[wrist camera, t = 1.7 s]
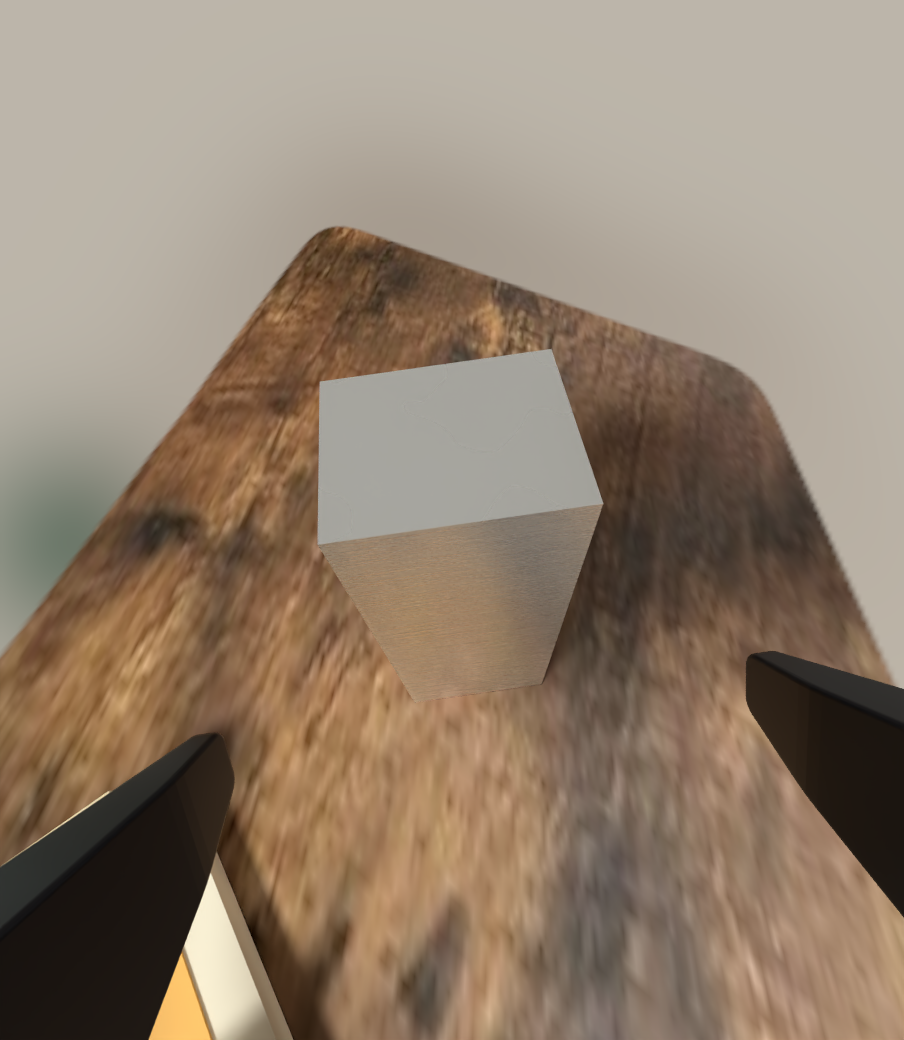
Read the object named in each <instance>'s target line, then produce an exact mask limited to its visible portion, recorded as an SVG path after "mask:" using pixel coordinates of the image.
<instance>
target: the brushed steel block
mask: <svg viewBox="0 0 904 1040" xmlns="http://www.w3.org/2000/svg"><path fill="white" fill-rule="evenodd" d="M602 506H603V501H602V498H601V495H600V492H599V489H598V486H597V483H596V480H595V477H594V474H593V471H592V468H591V465H590V462H589V460H588V457H587V454H586V451H585V448H584V445H583V442H582V439H581V436H580V433H579V430H578V427H577V424H576V421H575V418H574V415H573V412H572V409H571V406H570V403H569V400H568V397H567V394H566V392H565V389H564V386H563V383H562V380H561V377H560V374H559V371H558V368H557V365H556V362H555V359H554V356H553V353H552V350H551V349H549V350H542V351H535V352H527V353H520V354H513V355H506V356H499V357H492V358H485V359H478V360H471V361H464V362H457V363H450V364H443V365H435V366H428V367H421V368H414V369H407V370H400V371H393V372H386V373H379V374H372V375H365V376H358V377H351V378H343V379H336V380H329V381H322V382H320V410H319V486H318V546H319V548H320V549H321V551H322V552H323V554H324V556H325V557H326V559H327V561H328V562H329V564H330V565H331V567H332V569H333V570H334V572H335V574H336V575H337V577H338V578H339V580H340V582H341V583H342V585H343V587H344V588H345V590H346V591H347V593H348V595H349V596H350V598H351V600H352V601H353V603H354V604H355V606H356V608H357V609H358V611H359V613H360V614H361V616H362V617H363V619H364V621H365V622H366V624H367V626H368V627H369V629H370V630H371V632H372V634H373V635H374V637H375V639H376V640H377V642H378V643H379V645H380V647H381V648H382V650H383V652H384V653H385V655H386V656H387V658H388V660H389V661H390V663H391V665H392V666H393V668H394V669H395V671H396V673H397V674H398V676H399V678H400V679H401V681H402V682H403V684H404V686H405V687H406V689H407V691H408V692H409V694H410V695H411V697H412V699H413V700H414V702H415V703H417V702H424V701H431V700H437V699H444V698H451V697H458V696H465V695H472V694H478V693H485V692H492V691H499V690H506V689H512V688H519V687H526V686H533V685H540V684H542V682H543V679H544V676H545V673H546V670H547V667H548V664H549V661H550V658H551V655H552V652H553V649H554V647H555V644H556V641H557V638H558V635H559V632H560V629H561V626H562V623H563V620H564V617H565V614H566V611H567V609H568V606H569V603H570V600H571V597H572V594H573V591H574V588H575V585H576V582H577V579H578V576H579V573H580V571H581V568H582V565H583V562H584V559H585V556H586V553H587V550H588V547H589V544H590V541H591V538H592V535H593V533H594V530H595V527H596V524H597V521H598V518H599V515H600V512H601V509H602Z"/></svg>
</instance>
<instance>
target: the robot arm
mask: <svg viewBox="0 0 904 1040" xmlns="http://www.w3.org/2000/svg"><path fill="white" fill-rule="evenodd" d="M746 701H747V705H748V707H749V710H750V712H751V713H752V715H753V716H754V718H755V719H756V721H757V722H758V724H759V725H760V727H761V729H762V730H763V732H764V733H765V735H766V736H767V738H768V739H769V741H770V742H771V744H772V745H773V747H774V748H775V750H776V751H777V753H778V754H779V756H780V757H781V759H782V760H783V762H784V763H785V765H786V766H787V768H788V769H789V771H790V772H791V774H792V775H793V777H794V779H795V780H796V781H797V783H798V784H799V786H800V787H801V789H802V790H803V791H804V793H805V794H806V796H807V797H808V798H809V799H810V801H811V802H812V803H813V805H814V806H815V807H816V809H817V810H818V811H819V812H820V814H821V815H822V816H823V817H824V819H825V820H826V821H827V822H828V824H829V825H830V826H831V827H832V829H833V830H834V831H835V832H836V833H837V835H838V836H839V837H840V838H841V840H842V841H843V842H844V843H845V845H846V846H847V847H848V848H849V850H850V851H851V852H852V853H853V855H854V856H855V857H856V858H857V860H858V861H859V862H860V863H861V865H862V866H863V867H864V868H865V870H866V871H867V872H868V873H869V875H870V876H871V877H872V878H873V880H874V881H875V882H876V883H877V885H878V886H879V887H880V888H881V890H882V891H883V892H884V893H885V895H886V896H887V897H888V898H889V900H890V901H891V902H892V903H893V905H894V906H895V907H896V908H897V910H898V911H899V912H900V913H901V915H902V916H903V917H904V689H902V688H898V687H895V686H891V685H888V684H885V683H881V682H878V681H874V680H871V679H868V678H864V677H861V676H858V675H854V674H851V673H847V672H844V671H841V670H837V669H834V668H830V667H827V666H824V665H820V664H817V663H813V662H810V661H807V660H803V659H800V658H797V657H793V656H790V655H786V654H783V653H780V652H776V651H768V652H761V653H754V654H751V655H750V656H749V657H748V658H747V661H746ZM234 780H235V778H234V771H233V767H232V764H231V760H230V757H229V753H228V750H227V746H226V743H225V740H224V737H223V736H222V734H220V733H218V732H213V733H206V734H200V735H195V736H193V737H191V738H190V739H188V740H187V741H186V742H184V743H183V744H181V745H180V746H178V747H177V748H175V749H174V750H172V751H171V752H169V753H168V754H166V755H165V756H163V757H162V758H160V759H159V760H157V761H156V762H154V763H153V764H152V765H150V766H149V767H147V768H146V769H144V770H143V771H141V772H140V773H138V774H137V775H135V776H134V777H132V778H131V779H129V780H128V781H126V782H125V783H123V784H122V785H120V786H119V787H118V788H116V789H115V790H113V791H112V792H110V793H109V794H107V795H106V796H104V797H103V798H101V799H100V800H98V801H97V802H95V803H94V804H92V805H91V806H89V807H88V808H86V809H85V810H84V811H82V812H81V813H79V814H78V815H76V816H75V817H73V818H72V819H70V820H69V821H67V822H66V823H64V824H63V825H61V826H60V827H58V828H57V829H55V830H54V831H52V832H51V833H49V834H48V835H47V836H45V837H44V838H42V839H41V840H39V841H38V842H36V843H35V844H33V845H32V846H30V847H29V848H27V849H26V850H24V851H23V852H21V853H20V854H18V855H17V856H15V857H14V858H13V859H11V860H10V861H8V862H7V863H5V864H4V865H2V866H1V867H0V1040H149V1038H150V1035H151V1032H152V1030H153V1027H154V1024H155V1022H156V1019H157V1016H158V1014H159V1011H160V1008H161V1006H162V1003H163V1001H164V998H165V995H166V993H167V990H168V987H169V985H170V982H171V979H172V977H173V974H174V971H175V969H176V966H177V963H178V961H179V958H180V955H181V953H182V950H183V947H184V945H185V942H186V940H187V937H188V934H189V932H190V929H191V926H192V924H193V921H194V918H195V916H196V913H197V910H198V908H199V905H200V902H201V900H202V897H203V894H204V891H205V888H206V886H207V883H208V880H209V876H210V873H211V870H212V866H213V863H214V859H215V855H216V852H217V848H218V844H219V840H220V837H221V833H222V829H223V826H224V822H225V818H226V815H227V811H228V807H229V804H230V800H231V796H232V793H233V789H234Z"/></svg>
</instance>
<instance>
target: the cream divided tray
mask: <svg viewBox="0 0 904 1040" xmlns="http://www.w3.org/2000/svg"><path fill="white" fill-rule="evenodd" d="M110 792H112V791H108V792H107V793H105V794H104V795H102V796H101V797H99V798H98V799H96V800H95V801H94V802H92V803H91V804H89V805H88V806H86V807H85V808H84V809H82V810H81V811H79V812H78V813H76V814H75V815H73V816H72V817H71V818H69V819H68V820H66V821H65V822H63V823H62V824H61V825H63V824H64V823H66V822H67V821H69V820H70V819H72V818H73V817H75V816H76V815H78V814H79V813H81V812H82V811H84V810H85V809H86V808H88V807H89V806H91V805H92V804H94V803H95V802H97V801H98V800H100V799H101V798H103V797H104V796H106V795H107V794H109V793H110ZM61 825H59V826H58V827H60V826H61ZM58 827H56V828H55V829H57V828H58ZM55 829H53V830H52V831H54V830H55ZM52 831H51V832H52ZM51 832H49V833H51ZM49 833H48V834H49ZM48 834H46V835H45V836H47V835H48ZM45 836H43V837H42V838H44V837H45ZM42 838H40V839H39V840H41V839H42ZM39 840H38V841H39ZM38 841H36V842H38ZM36 842H35V843H36ZM35 843H33V844H35ZM33 844H32V845H33ZM32 845H30V846H32ZM30 846H29V847H30ZM29 847H28V848H29ZM26 849H27V848H26ZM26 849H25V850H26ZM23 851H24V850H23ZM23 851H22V852H23ZM20 853H21V852H20ZM20 853H19V854H20ZM17 855H18V854H17ZM17 855H16V856H17ZM13 858H14V857H13ZM13 858H12V859H13ZM10 860H11V859H10ZM10 860H9V861H10ZM7 862H8V861H7ZM7 862H6V863H7ZM3 865H4V864H3ZM0 867H1V866H0ZM149 1040H293V1038H292V1035H291V1033H290V1030H289V1028H288V1025H287V1023H286V1020H285V1018H284V1015H283V1013H282V1011H281V1008H280V1006H279V1003H278V1001H277V998H276V996H275V993H274V991H273V988H272V986H271V983H270V981H269V979H268V976H267V974H266V971H265V969H264V966H263V964H262V961H261V959H260V956H259V954H258V952H257V949H256V947H255V944H254V942H253V939H252V937H251V934H250V932H249V929H248V927H247V925H246V922H245V920H244V917H243V915H242V912H241V910H240V907H239V905H238V902H237V900H236V898H235V895H234V893H233V890H232V888H231V885H230V883H229V880H228V878H227V875H226V873H225V871H224V868H223V866H222V863H221V861H220V858H219V856H218V853H217V852H216V855H215V859H214V863H213V866H212V870H211V873H210V876H209V880H208V883H207V886H206V888H205V891H204V894H203V897H202V900H201V902H200V905H199V908H198V910H197V913H196V916H195V918H194V921H193V924H192V926H191V929H190V932H189V934H188V937H187V940H186V942H185V945H184V947H183V950H182V953H181V955H180V958H179V961H178V963H177V966H176V969H175V971H174V974H173V977H172V979H171V982H170V985H169V987H168V990H167V993H166V995H165V998H164V1001H163V1003H162V1006H161V1008H160V1011H159V1014H158V1016H157V1019H156V1022H155V1024H154V1027H153V1030H152V1032H151V1035H150V1038H149Z"/></svg>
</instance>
